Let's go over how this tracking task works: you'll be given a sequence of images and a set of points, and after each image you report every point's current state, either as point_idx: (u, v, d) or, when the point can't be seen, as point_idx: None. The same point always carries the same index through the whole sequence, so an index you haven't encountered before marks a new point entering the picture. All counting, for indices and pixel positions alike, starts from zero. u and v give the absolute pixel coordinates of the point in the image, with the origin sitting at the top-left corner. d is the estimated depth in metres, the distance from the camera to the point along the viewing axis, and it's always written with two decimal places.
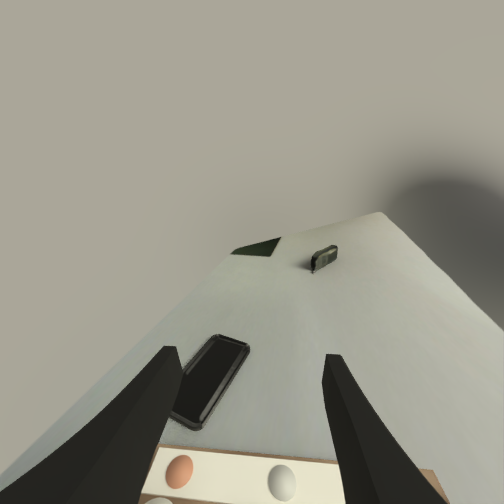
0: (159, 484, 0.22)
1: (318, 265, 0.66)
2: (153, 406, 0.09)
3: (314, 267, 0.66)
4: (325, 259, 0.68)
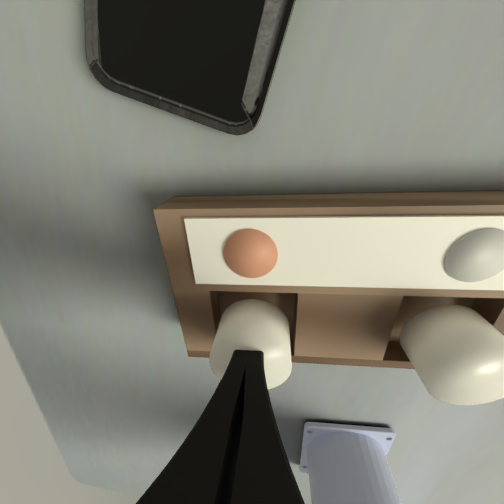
0: (221, 273, 0.12)
1: None
2: (239, 412, 0.09)
3: None
4: None
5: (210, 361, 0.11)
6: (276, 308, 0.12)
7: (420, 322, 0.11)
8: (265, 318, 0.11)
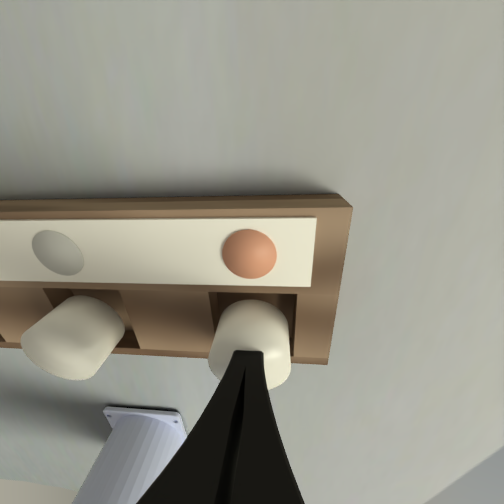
0: None
1: None
2: (239, 412, 0.09)
3: None
4: None
5: None
6: None
7: None
8: None
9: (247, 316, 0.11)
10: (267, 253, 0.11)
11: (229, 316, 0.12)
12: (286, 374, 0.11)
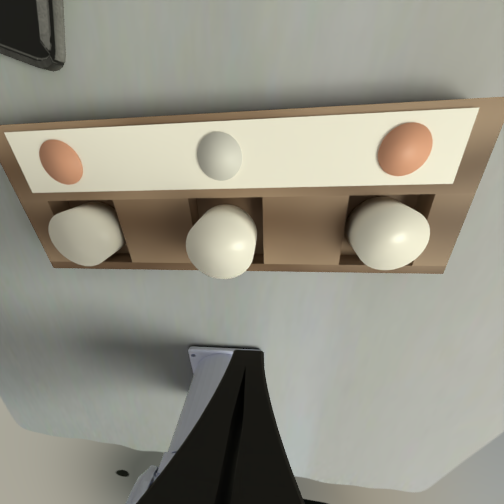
0: (47, 181, 0.15)
1: None
2: (239, 412, 0.09)
3: None
4: None
5: (51, 239, 0.16)
6: (110, 208, 0.17)
7: None
8: (91, 208, 0.16)
9: (388, 202, 0.14)
10: (423, 147, 0.12)
11: (369, 206, 0.14)
12: (422, 248, 0.13)
